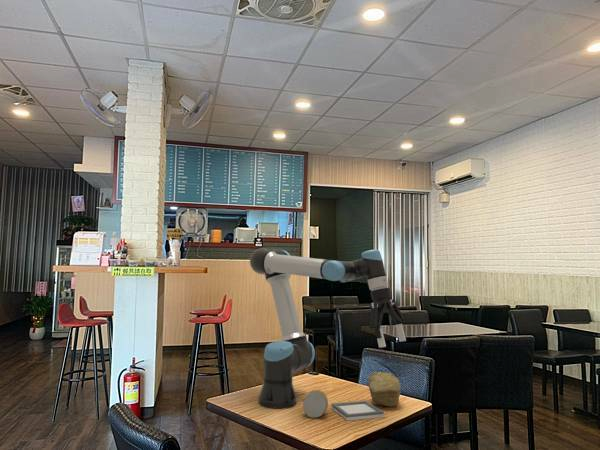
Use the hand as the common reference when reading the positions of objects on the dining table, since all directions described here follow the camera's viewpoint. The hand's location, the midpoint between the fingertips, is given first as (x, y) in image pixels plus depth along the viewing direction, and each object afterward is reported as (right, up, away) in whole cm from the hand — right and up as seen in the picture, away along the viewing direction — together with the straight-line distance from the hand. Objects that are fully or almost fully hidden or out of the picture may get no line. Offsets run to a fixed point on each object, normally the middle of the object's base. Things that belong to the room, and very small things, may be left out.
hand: (393, 344), depth 168 cm
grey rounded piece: (-29, -25, -4) cm, 39 cm away
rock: (-1, -28, +12) cm, 30 cm away
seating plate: (-14, -26, 0) cm, 29 cm away
